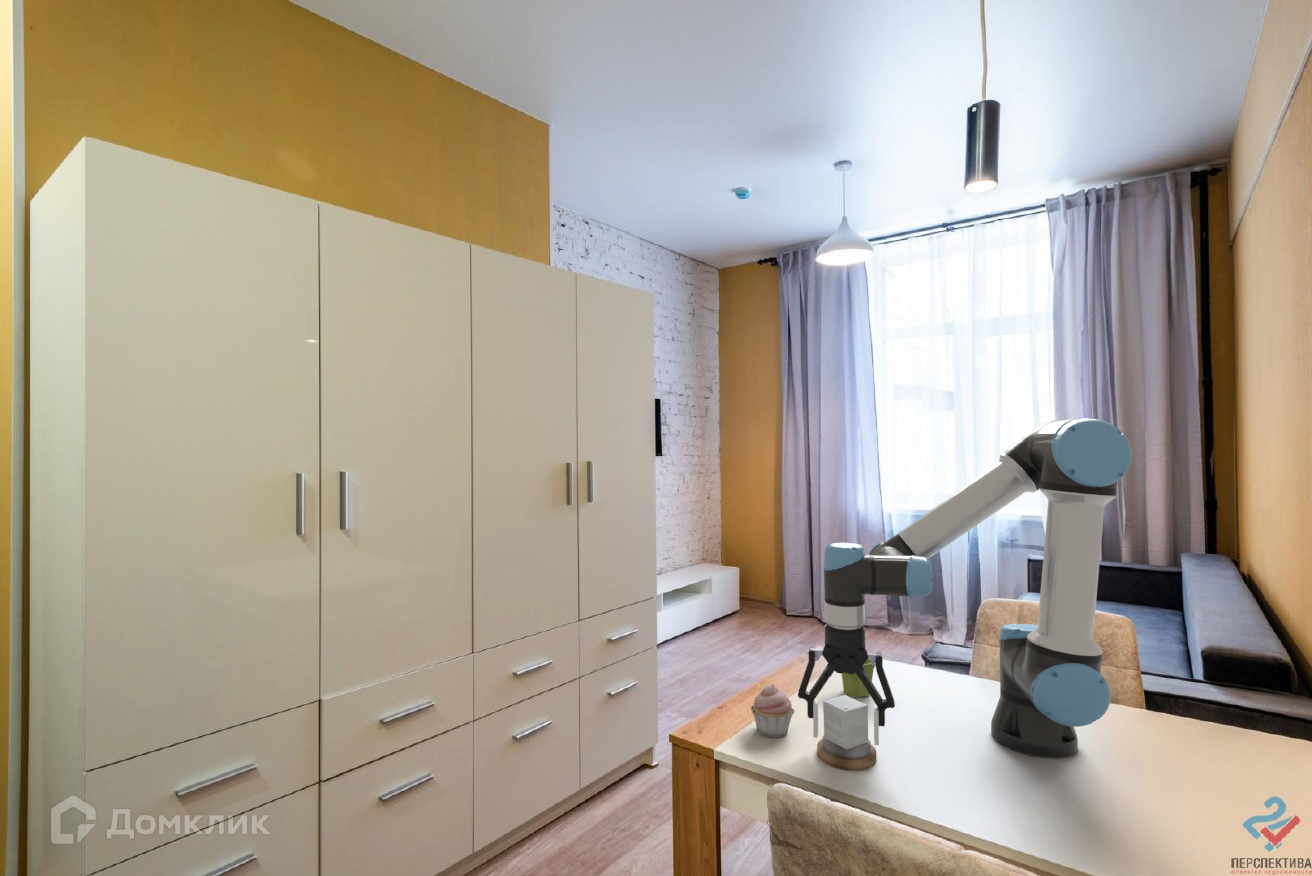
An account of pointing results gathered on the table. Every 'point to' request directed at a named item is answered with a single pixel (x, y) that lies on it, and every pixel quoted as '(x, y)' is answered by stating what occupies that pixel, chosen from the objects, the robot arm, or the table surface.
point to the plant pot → (857, 682)
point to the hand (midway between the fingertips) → (845, 738)
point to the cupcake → (772, 712)
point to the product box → (845, 722)
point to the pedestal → (846, 755)
